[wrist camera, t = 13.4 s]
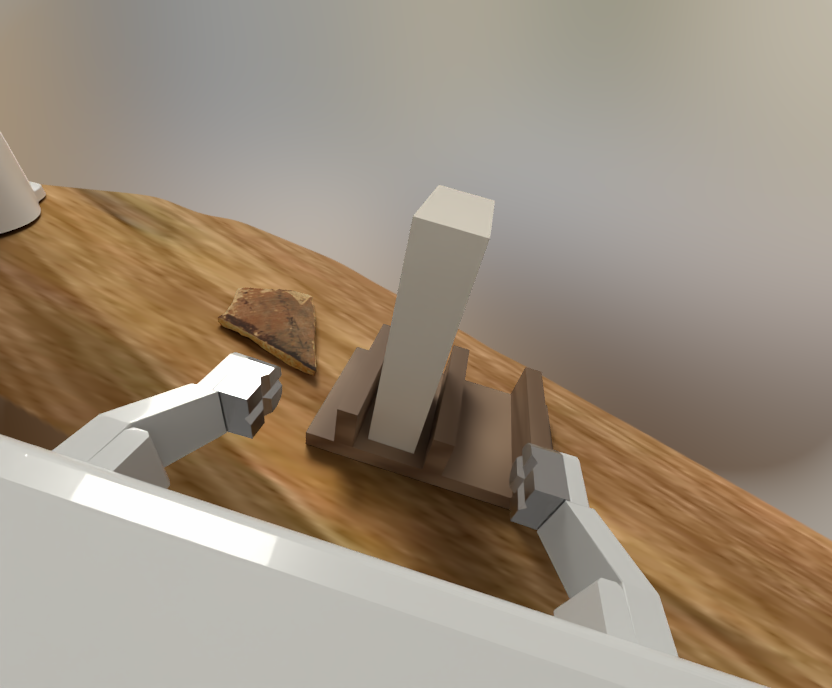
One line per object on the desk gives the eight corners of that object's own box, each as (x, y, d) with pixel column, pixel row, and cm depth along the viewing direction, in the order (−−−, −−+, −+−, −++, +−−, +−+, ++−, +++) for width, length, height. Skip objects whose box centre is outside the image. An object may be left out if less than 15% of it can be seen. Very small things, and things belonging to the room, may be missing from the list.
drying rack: (305, 443, 22) (306, 399, 19) (355, 357, 29) (361, 317, 26) (552, 523, 21) (587, 488, 18) (540, 415, 28) (564, 378, 25)
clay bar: (367, 438, 21) (413, 216, 13) (393, 377, 26) (438, 184, 18) (413, 453, 21) (489, 238, 13) (430, 388, 26) (494, 200, 17)
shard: (316, 384, 26) (316, 368, 25) (202, 388, 24) (197, 369, 23) (314, 305, 34) (314, 290, 33) (228, 302, 32) (226, 285, 31)
